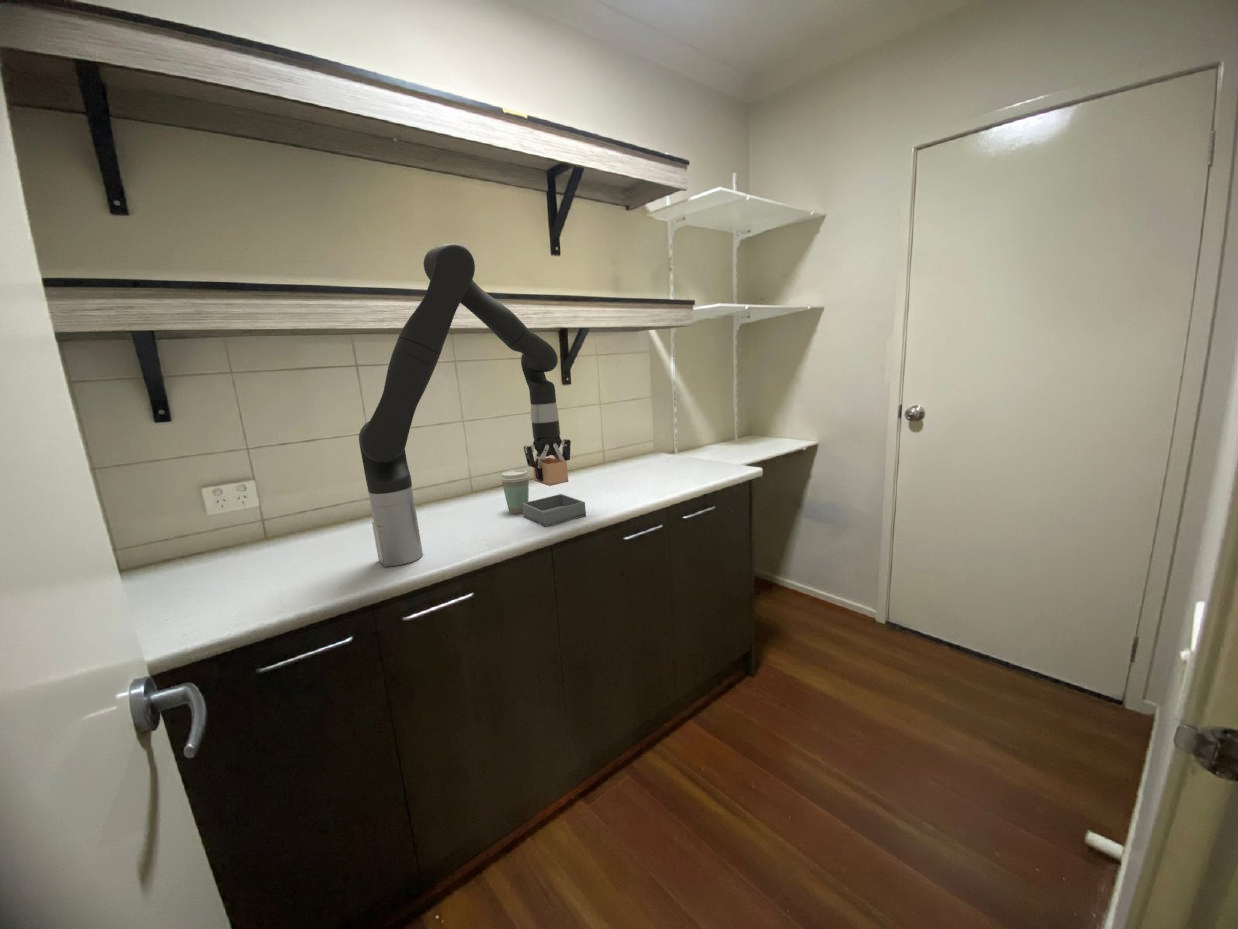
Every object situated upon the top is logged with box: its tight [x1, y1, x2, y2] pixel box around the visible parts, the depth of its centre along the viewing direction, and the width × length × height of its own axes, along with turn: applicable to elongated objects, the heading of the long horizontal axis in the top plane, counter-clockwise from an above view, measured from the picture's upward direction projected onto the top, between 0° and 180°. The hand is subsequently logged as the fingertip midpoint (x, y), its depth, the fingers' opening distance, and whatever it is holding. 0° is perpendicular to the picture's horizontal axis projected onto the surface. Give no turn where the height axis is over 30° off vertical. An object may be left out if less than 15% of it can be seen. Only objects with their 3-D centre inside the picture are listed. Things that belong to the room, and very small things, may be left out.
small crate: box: [532, 456, 569, 487], centre depth 138 cm, size 6×9×6 cm, turn 37°
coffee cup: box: [500, 469, 530, 515], centre depth 147 cm, size 9×8×12 cm
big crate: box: [522, 493, 587, 528], centre depth 141 cm, size 13×13×4 cm
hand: (550, 478), depth 139 cm, fingers closed on small crate, 6 cm apart
